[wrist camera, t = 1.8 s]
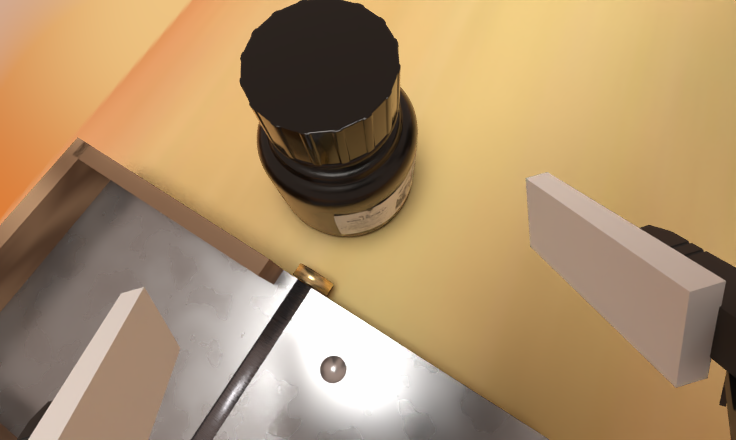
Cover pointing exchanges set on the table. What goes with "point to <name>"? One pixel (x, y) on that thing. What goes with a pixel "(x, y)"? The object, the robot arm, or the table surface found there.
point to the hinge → (227, 343)
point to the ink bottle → (332, 114)
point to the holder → (69, 201)
